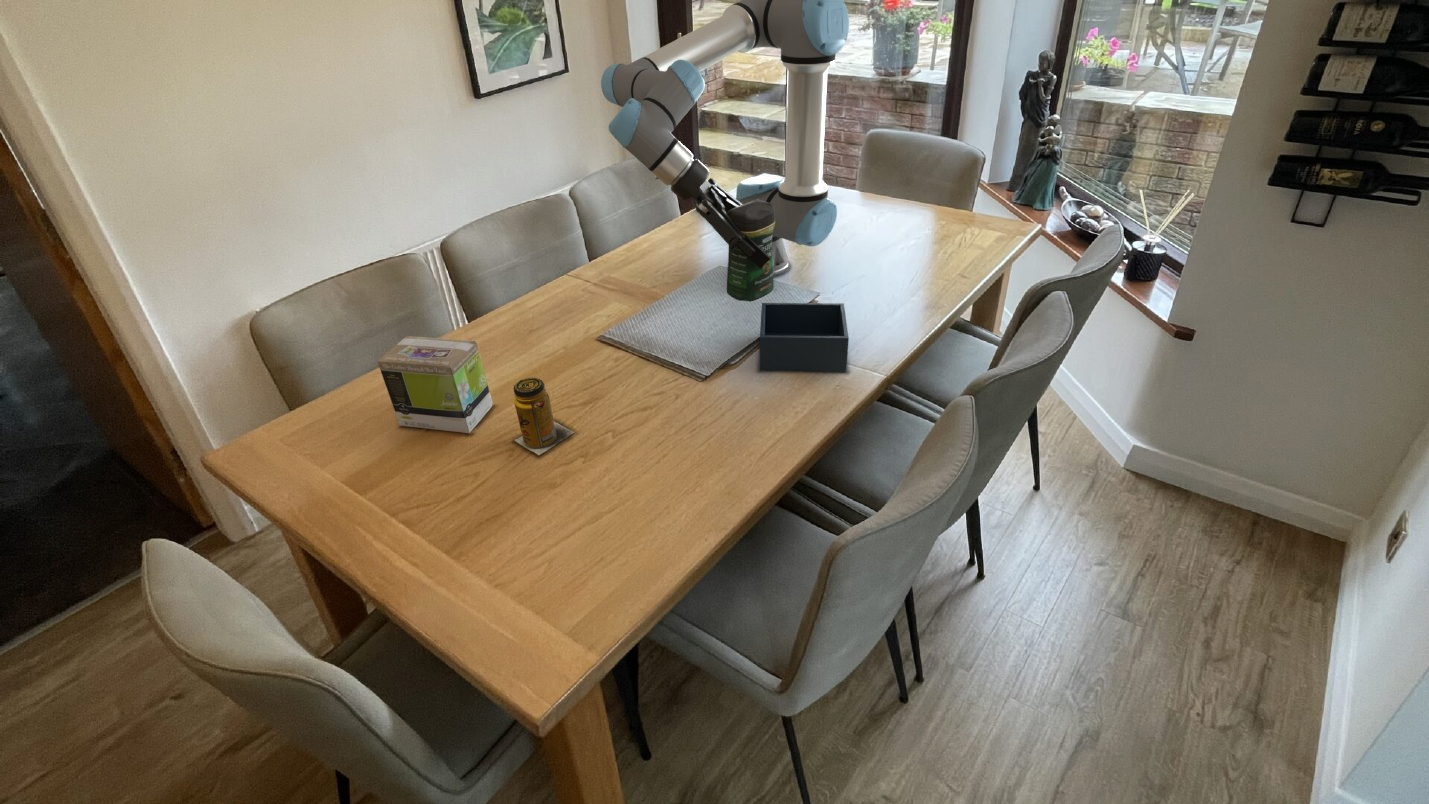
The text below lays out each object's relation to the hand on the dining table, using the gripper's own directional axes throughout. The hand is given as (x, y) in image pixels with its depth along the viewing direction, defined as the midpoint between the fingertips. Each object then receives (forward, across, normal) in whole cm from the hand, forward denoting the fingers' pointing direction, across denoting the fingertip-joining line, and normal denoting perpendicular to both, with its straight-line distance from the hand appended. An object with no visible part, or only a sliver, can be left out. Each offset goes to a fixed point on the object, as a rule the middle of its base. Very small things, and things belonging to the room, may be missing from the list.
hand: (766, 252), depth 143 cm
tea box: (-27, +26, -59) cm, 70 cm away
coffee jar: (+4, 0, -9) cm, 10 cm away
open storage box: (+22, 0, -11) cm, 24 cm away
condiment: (-12, +32, -44) cm, 56 cm away
